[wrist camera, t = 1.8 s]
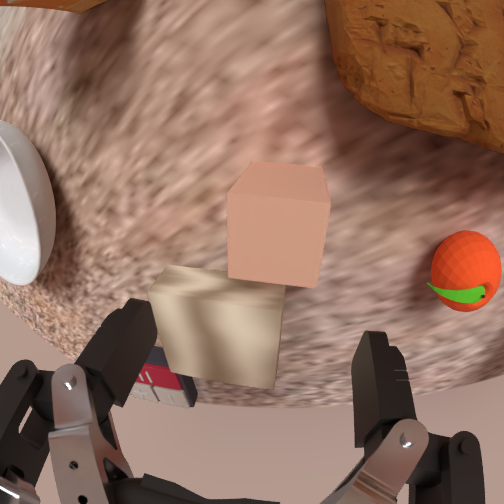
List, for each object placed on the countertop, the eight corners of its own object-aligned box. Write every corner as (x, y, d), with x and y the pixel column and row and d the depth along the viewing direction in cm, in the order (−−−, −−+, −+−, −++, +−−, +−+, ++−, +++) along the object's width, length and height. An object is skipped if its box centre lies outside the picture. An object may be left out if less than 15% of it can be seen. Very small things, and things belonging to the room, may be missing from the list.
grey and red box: (193, 411, 38) (111, 393, 40) (199, 390, 42) (120, 375, 44) (175, 370, 33) (83, 351, 35) (185, 346, 37) (96, 331, 39)
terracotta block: (322, 167, 21) (330, 203, 15) (314, 230, 24) (316, 288, 17) (252, 161, 22) (227, 193, 15) (250, 223, 25) (228, 277, 18)
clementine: (407, 284, 25) (426, 337, 19) (414, 219, 22) (445, 263, 16) (472, 277, 23) (500, 323, 17) (485, 215, 20) (525, 255, 14)
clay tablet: (532, 9, 7) (580, 4, 1) (533, 163, 16) (585, 193, 9) (316, -68, 11) (317, -120, 4) (320, 111, 19) (330, 119, 12)
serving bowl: (6, 248, 34) (-21, 271, 28) (-19, 122, 23) (-54, 136, 17) (93, 270, 32) (61, 305, 26) (68, 93, 21) (17, 103, 15)
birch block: (286, 275, 27) (282, 310, 23) (278, 356, 34) (273, 389, 29) (168, 263, 29) (147, 292, 25) (184, 342, 35) (170, 371, 31)
